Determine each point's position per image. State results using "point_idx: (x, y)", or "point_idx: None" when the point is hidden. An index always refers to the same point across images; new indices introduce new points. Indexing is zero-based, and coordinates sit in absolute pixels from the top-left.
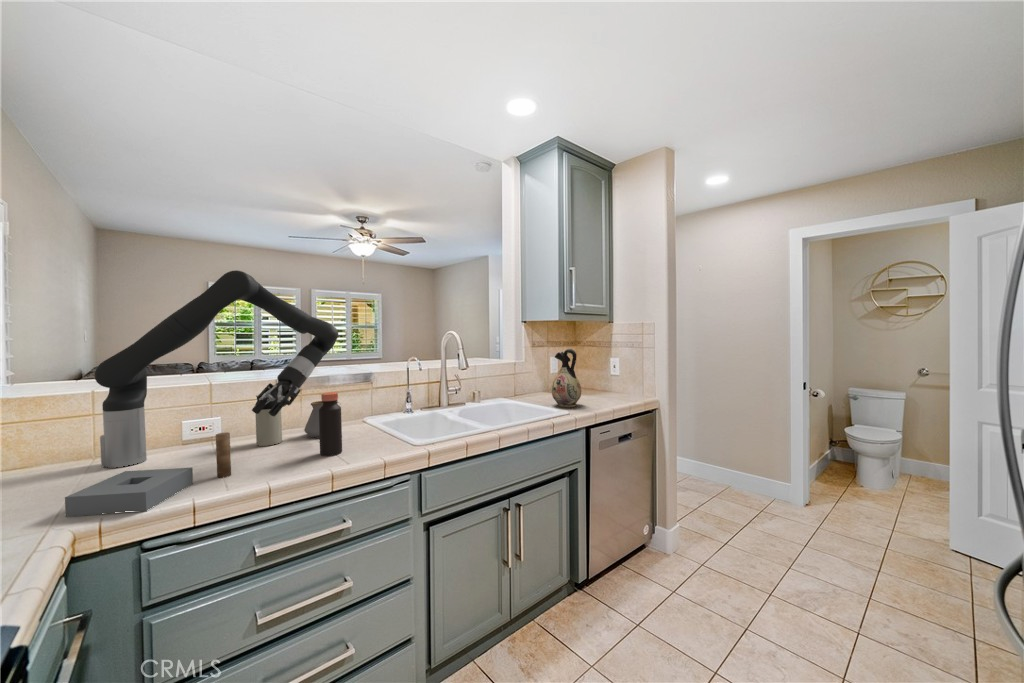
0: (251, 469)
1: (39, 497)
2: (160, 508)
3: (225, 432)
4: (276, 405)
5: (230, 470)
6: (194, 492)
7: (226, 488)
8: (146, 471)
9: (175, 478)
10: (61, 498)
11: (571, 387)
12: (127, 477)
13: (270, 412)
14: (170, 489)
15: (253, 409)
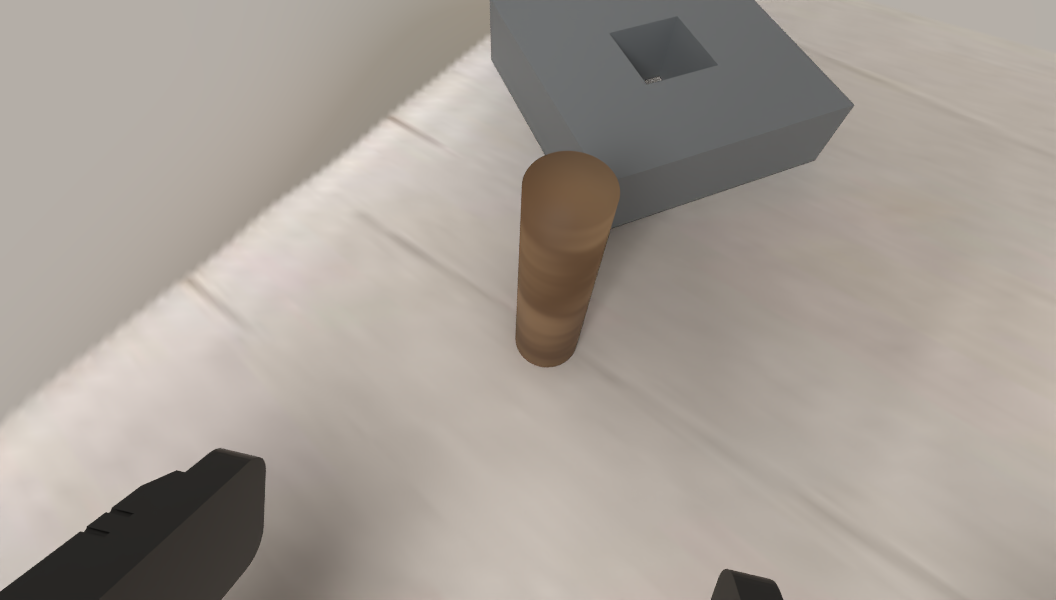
0: (482, 452)
1: (979, 70)
2: (470, 78)
3: (594, 223)
4: (73, 577)
5: (519, 340)
6: (487, 177)
7: (386, 227)
8: (755, 116)
9: (550, 106)
10: (898, 76)
11: None
12: (739, 65)
13: (216, 457)
14: (534, 111)
15: (731, 576)
